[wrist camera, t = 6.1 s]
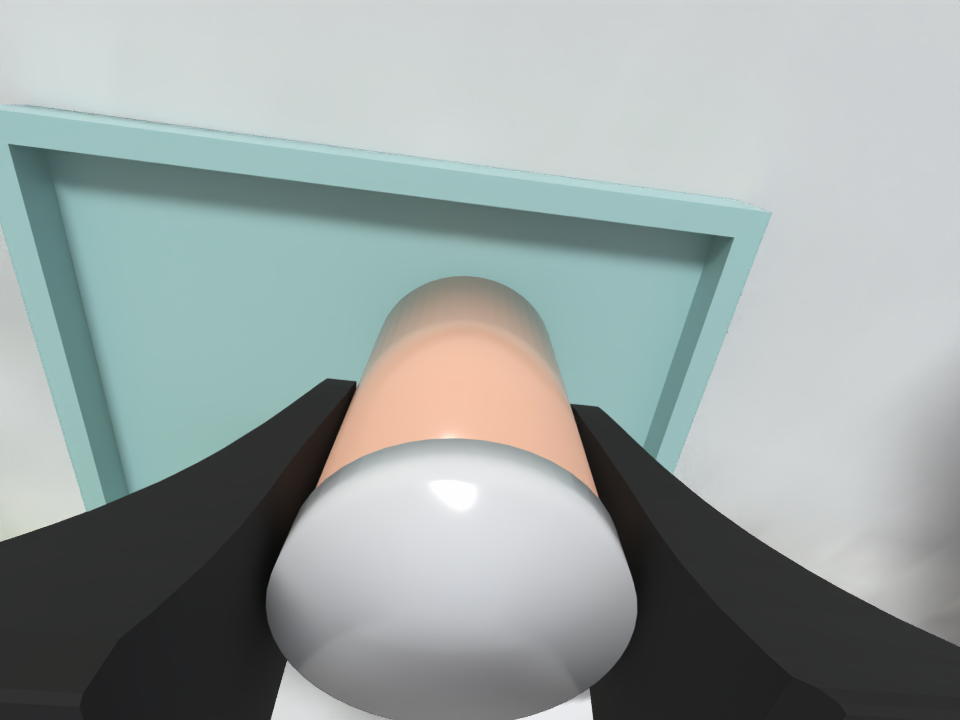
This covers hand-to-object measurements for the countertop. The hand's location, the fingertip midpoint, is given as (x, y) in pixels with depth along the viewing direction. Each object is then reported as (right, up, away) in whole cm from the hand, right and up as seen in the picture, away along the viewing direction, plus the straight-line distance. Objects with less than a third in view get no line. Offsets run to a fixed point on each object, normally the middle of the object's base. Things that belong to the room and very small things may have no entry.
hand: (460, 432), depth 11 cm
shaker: (0, +2, +2) cm, 3 cm away
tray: (-2, +1, +3) cm, 4 cm away
